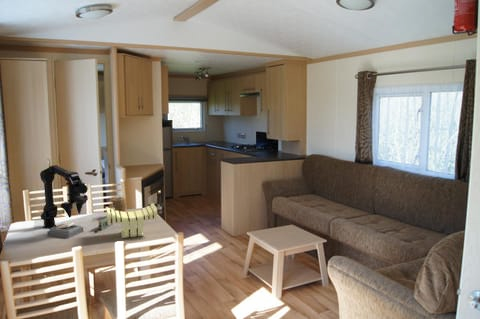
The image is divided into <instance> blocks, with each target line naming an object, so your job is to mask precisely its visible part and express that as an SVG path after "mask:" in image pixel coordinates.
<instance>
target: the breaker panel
mask: <svg viewBox="0 0 480 319" xmlns="http://www.w3.org/2000/svg"><path fill="white" fill-rule="evenodd" d="M63 224H64V223H60V224H56V226H55V227H52V228H49V230H48V231H47V236H48V237H52V238H53V237H55V238H62V239H63V238H64V239H70V238H73V237H75V236H78V235H79V234H81V233H83V232H84V226H82V225H79V224H74V225H71V226H69V227H64V228H60V229H56V227H58V226H60V225H63Z"/></svg>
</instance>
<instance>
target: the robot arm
mask: <svg viewBox="0 0 480 319" xmlns="http://www.w3.org/2000/svg"><path fill="white" fill-rule="evenodd" d="M55 175H59V176H61V177H62V178H64V180H65V181H66V183H65V185H67V186H68V187H67V188H68V193H67V194H66V195H67V197H68V200H67V201H64V202H62V203H61V204H60V208H61V209H63V210H64V212H65V213H66V215H67V216H68V217H69V218H71V217H72V209H73V207H74V206H73V205H75V207H76V212H77V214H79V215H80V214H81V212H82V208H83V206H84V205H85V204H86V203H87V201H88V198H89V197H88V195H87V194H86V193H87V192H88V190H89V189H88V186H87V185H86V184H85V182H83V179H82V178H81V176H80V175H79V173H78V172H76V171H70V170H67V169H65V168H62V167H60V166H58V164H57V165H56V164H54V165H50V166H48V168H46V169H43V170H41V171H40V174H39V176H40V180H41V182H42V183H43V186H44V187H43V188H44V198H45V199H44V200H45V204H44V206H43V212H42V213H41V215H40V219H41V220H43V226H41V227H42V228H43V229H50V228H52V227H55V226H57V224H56V220H55V218H57V216H58V212H59V210H58V206H57V205H55V202H54V194H53V193H54V188H53V183H54V180H55ZM81 194H83V195H81Z"/></svg>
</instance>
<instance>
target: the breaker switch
mask: <svg viewBox="0 0 480 319" xmlns="http://www.w3.org/2000/svg"><path fill="white" fill-rule="evenodd" d="M62 224H63V225H60V224H59V225H60V226H58V227H56V229H60V228H64V227H69V226H71V225H76V223H75V222H74V221H73V222H69V223H62Z"/></svg>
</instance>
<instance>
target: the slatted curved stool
mask: <svg viewBox="0 0 480 319" xmlns="http://www.w3.org/2000/svg"><path fill="white" fill-rule="evenodd" d="M105 208H106V217H107V222H108V225H110V224H111V223H113V225H114V224H117V225H121V228H122V229H121V231H120V233H121V238H122V239H124V238H125V239H126V238H135V237H144V233H143V228H144V225H145V223H147V222H148V221H153V220H154V221H158V210H157V206H156V205H155V203H154V202H153V203H151V204H150V205H147V206H146V207H143V208H142V209H138V210H133V211H126V212H128V216H129V218H128V216H127V213H126V212H122V211H120V214H119V211H117V210H115V209H113V208H110V207H107V206H106V207H105ZM111 214H112V219H111ZM115 214H116V218H115ZM120 215H121V218H120Z"/></svg>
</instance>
